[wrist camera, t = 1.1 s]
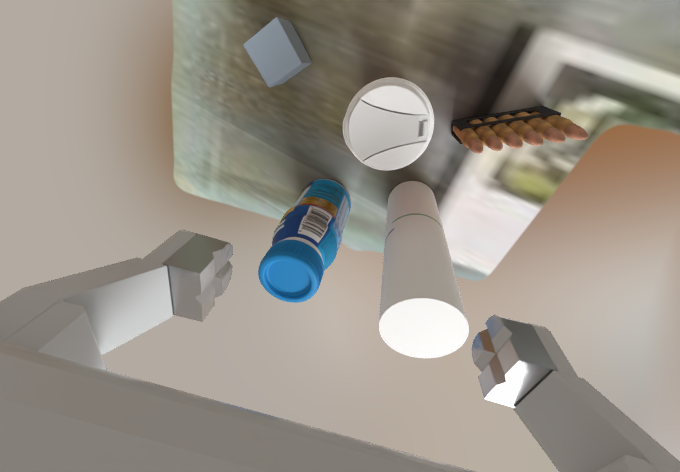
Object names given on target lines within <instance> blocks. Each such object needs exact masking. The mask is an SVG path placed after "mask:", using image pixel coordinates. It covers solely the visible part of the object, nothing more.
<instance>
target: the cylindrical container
mask: <svg viewBox="0 0 680 472" xmlns="http://www.w3.org/2000/svg"><path fill="white" fill-rule="evenodd" d="M380 305H381V306H380V319H379V331H380V334H381V336H382V338H383V340H384V341H385V342H386V344H387V345H389V346H390V347H391V348H392V349H394V350H396V351H397V352H399V353H402V354H404V355H408V356H411V357H418V358H434V357H441V356H444V355H447V354H450V353H452V352H454V351H455V350H457V349H458V348H459V347H461V346H462V345H463V344H464V342H465V341H466V339H467V336H468V334H469V326H468V322H467V319H466V314H465V311H464V307H463V303H462V299H461V295H460V292H459V288H458V284H457V280H456V276H455V272H454V269H453V265H452V261H451V257H450V253H449V249H448V246H447V242H446V238H445V234H444V230H443V227H442V223H441V219H440V215H439V212H438V208H437V204H436V200H435V197H434V193H433V192H432V190H431V189H430V188H429V187H428V186H427V185H426V184H424V183H422V182H418V181H406V182H403V183H401V184H399V185H397V186H396V187H395V188H394V189H393V190H392V191H391V193H390V195H389V198H388V205H387V219H386V234H385V248H384V263H383V276H382V290H381V304H380Z"/></svg>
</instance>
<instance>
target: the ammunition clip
mask: <svg viewBox="0 0 680 472" xmlns="http://www.w3.org/2000/svg"><path fill="white" fill-rule="evenodd" d="M452 136H453V137H454V138H455V139H456V140H457V141H458V142H459V143H460V144H464V145H465V146H466V147H467V148H469V149H471V150H472V151H473V152H475V153H482V151H483V145H485V146H488V147H489V148H491V149H492V150H495V151H500V150H501V149H502V148H503V145H502V143H505V144H507V145H509V146H510V147H513V148H521V147H522V145H523V143H522V141H524V142H527V143H529V144H531V145H537V146H538V145H542V144H543V139H546V140H548V141H551V142H556V143H561V142H564V141H565V137H569V138H571V139H576V140H583V139H587V138H588V134H587V132H586V131H585V130H584V129H583V128H581V127H580V126H577V125H576V124H574V123H573V122H572V121H570V120H569V119H566V118H564V117H561V113H560V112H557V111H555V110H552V109H550V108H547V107H545V106H540V107H533V108H527V109H521V110H515V111H509V112H502V113H496V114H490V115H484V116H478V117H471V118H465V119H459V120H453V121H452Z"/></svg>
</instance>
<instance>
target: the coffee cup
mask: <svg viewBox="0 0 680 472" xmlns="http://www.w3.org/2000/svg"><path fill="white" fill-rule="evenodd" d="M433 129H434V114H433V109H432V106H431V103H430V101H429V99H428V97H427V96H426V94H425V93H424V92H423V91H422V90H421V89H420V88H419V87H418V86H417V85H415V84H414V83H412V82H410V81H408V80H405V79H402V78H397V77H387V78H381V79H378V80H375V81H372V82H371V83H369V84H367V85H366V86H364V87H363V88H362V89H361V90H360V91H359V92H358V93H357V94H356V95H355V96H354V98H353V99H352V101H351V102H350V104H349V106H348V109H347V112H346V115H345V118H344V121H343V135H344V139H345V143H346V144H347V146H348V147H349V149H350V150H351V151H352V153H353V154H354V156H355V157H356V158H357V159H358V160H359V161H361V162H362V163H363V164H365V165H367V166H369V167H371V168H374V169H378V170H386V171H389V170H396V169H400V168H403V167H405V166H407V165H409V164H411V163H412V162H414V161H415V160H416V159H417V158H419V156H420V155H421V154H422V153H423V152H424V151H425V149H426V148H427V146H428V144H429V142H430V140H431V137H432V134H433Z"/></svg>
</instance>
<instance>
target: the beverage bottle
mask: <svg viewBox="0 0 680 472" xmlns="http://www.w3.org/2000/svg"><path fill="white" fill-rule="evenodd" d="M350 208H351V201H350V197H349V194H348V192H347V191H346V189H345V188H344V187H343V186H342V185H340V184H339V183H337V182H336V181H333V180H330V179H318V180H315V181H313V182H311V183H309V184H308V185H307V186H306V187H305V189H304V190H303V192H302V194H301V195H300V197H299V198H298V200H297V201H296V203H295V204H294V205H293V207H292V208H291V209H289V210H288V211H287V212H286V213H285V215H284V216H283V218H282V220H281V222H280V224H279V225H278V226H277V228H276V230H275V232H274V235H273V241H272V247H271V248H270V250H269V251H268V252H267V253H266V255H265V256H264V258H263V259H262V261H261V263H260V267H259V271H258V272H259V279H260V282H261V284H262V285H263V287H264V288H265V289H266V290H267V291H268V292H269V293H270V294H271V295H273V296H274V297H276V298H278V299H280V300H283V301H287V302H302V301H306V300H308V299H310V298H311V297H312V296H313V295H314V294H315V293H316V292H317V290H318V288H319V285H320V282H321V279H322V276H323V272H324V270H325V269H327V268H328V266H330V265H331V263H332V262H333V261H334V259H335V256H336V254H337V250H338V248H339V247H340V244H341V241H342V233H343V230H344V226H345V223H346V220H347V217H348V214H349V212H350Z"/></svg>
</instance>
